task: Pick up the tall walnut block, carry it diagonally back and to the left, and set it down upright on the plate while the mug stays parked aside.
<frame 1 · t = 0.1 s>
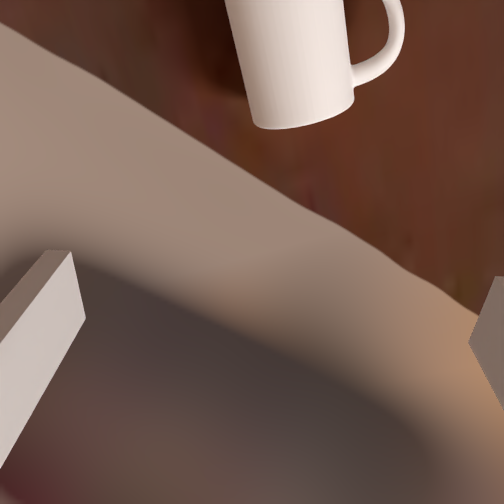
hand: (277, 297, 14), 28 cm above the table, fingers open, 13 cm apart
mug: (314, 31, 35), on the table
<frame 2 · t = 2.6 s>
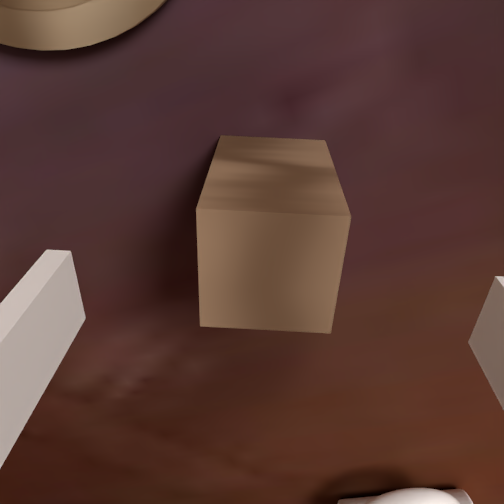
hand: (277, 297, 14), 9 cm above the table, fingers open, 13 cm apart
mug: (396, 485, 36), on the table
block: (269, 186, 22), on the table
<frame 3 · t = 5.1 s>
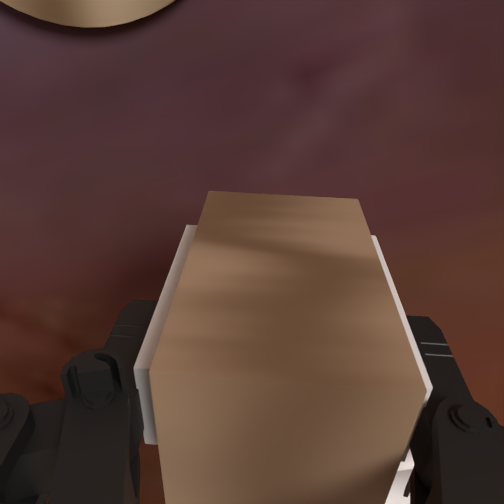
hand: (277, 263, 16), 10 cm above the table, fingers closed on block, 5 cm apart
mug: (401, 449, 38), on the table
block: (277, 257, 16), point 10 cm above the table, touching gripper
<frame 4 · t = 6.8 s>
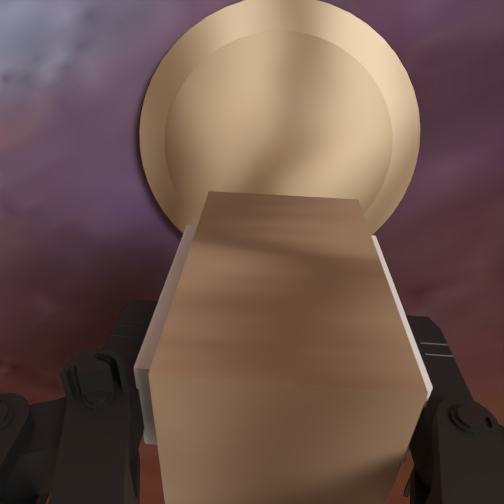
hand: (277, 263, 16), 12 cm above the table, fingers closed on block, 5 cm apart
plate: (277, 151, 26), on the table
block: (278, 257, 16), point 12 cm above the table, touching gripper
when the fingers open (1 cm above the table, at t = 8.9 s): block stays where it is, resting on plate.
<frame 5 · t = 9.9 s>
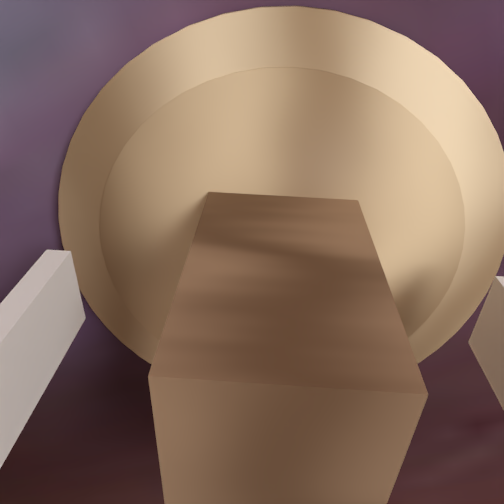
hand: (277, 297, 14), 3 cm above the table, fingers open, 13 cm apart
plate: (277, 245, 17), on the table
block: (277, 258, 16), point 1 cm above the table, touching plate
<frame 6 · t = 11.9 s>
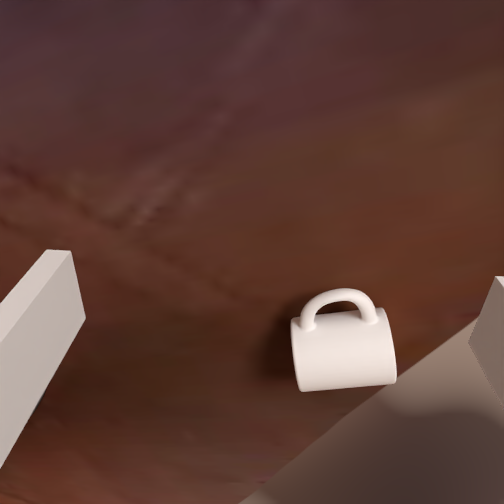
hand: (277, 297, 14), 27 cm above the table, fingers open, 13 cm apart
mug: (335, 310, 50), on the table
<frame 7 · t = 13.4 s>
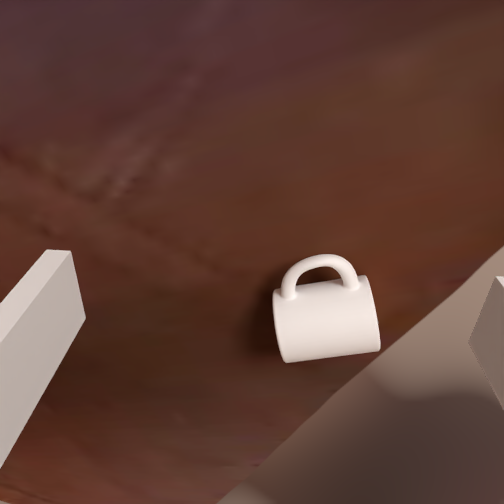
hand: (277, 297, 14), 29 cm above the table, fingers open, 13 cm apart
mug: (319, 281, 49), on the table
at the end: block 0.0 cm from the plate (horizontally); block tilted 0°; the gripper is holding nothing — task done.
